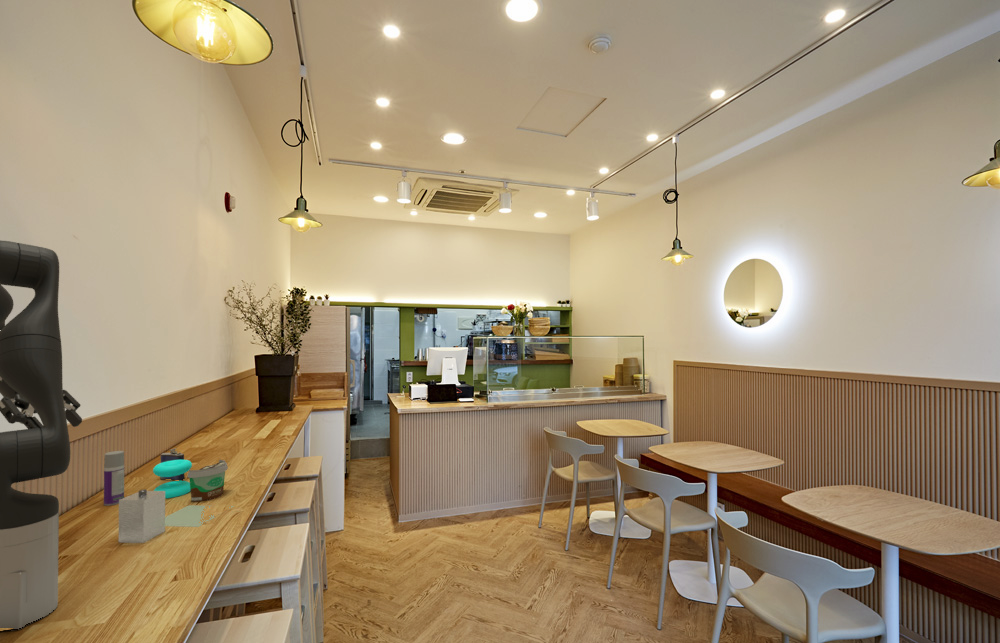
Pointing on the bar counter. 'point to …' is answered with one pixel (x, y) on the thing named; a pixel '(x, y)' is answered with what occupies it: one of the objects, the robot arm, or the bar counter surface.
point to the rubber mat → (187, 517)
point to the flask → (168, 457)
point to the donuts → (171, 470)
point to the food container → (207, 481)
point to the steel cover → (141, 516)
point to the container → (113, 477)
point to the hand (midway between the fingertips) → (60, 427)
